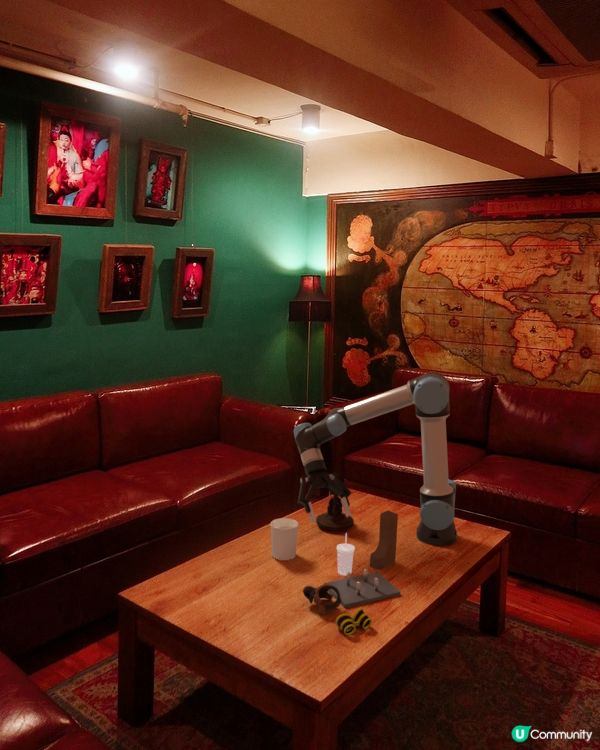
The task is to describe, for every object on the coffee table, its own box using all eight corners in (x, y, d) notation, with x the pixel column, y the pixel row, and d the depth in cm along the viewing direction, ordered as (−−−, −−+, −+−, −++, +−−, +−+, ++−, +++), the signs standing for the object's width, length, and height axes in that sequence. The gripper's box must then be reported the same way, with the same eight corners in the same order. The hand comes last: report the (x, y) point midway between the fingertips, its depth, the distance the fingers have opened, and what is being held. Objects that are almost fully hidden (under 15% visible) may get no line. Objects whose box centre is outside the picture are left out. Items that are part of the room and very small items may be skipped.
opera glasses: (344, 640, 183) (347, 625, 181) (333, 627, 187) (336, 613, 185) (371, 630, 188) (374, 616, 186) (360, 618, 192) (363, 604, 190)
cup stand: (376, 575, 218) (377, 560, 218) (400, 595, 206) (401, 579, 205) (323, 586, 210) (324, 571, 209) (344, 608, 198) (345, 592, 197)
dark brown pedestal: (317, 517, 265) (319, 470, 262) (353, 519, 264) (356, 472, 260) (314, 532, 251) (316, 482, 247) (353, 535, 249) (355, 485, 246)
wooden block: (379, 570, 222) (382, 520, 218) (369, 566, 225) (371, 516, 221) (395, 562, 228) (398, 513, 225) (385, 558, 231) (388, 509, 228)
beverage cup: (334, 567, 223) (336, 529, 220) (352, 567, 223) (354, 529, 221) (336, 576, 217) (338, 537, 214) (354, 576, 217) (356, 537, 215)
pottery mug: (340, 601, 203) (346, 586, 197) (332, 627, 196) (338, 613, 190) (304, 587, 204) (308, 572, 199) (295, 613, 197) (299, 598, 192)
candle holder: (265, 558, 228) (265, 526, 226) (276, 547, 237) (277, 516, 235) (291, 564, 225) (291, 531, 222) (301, 552, 234) (302, 520, 231)
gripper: (340, 464, 245) (358, 517, 234) (279, 472, 234) (295, 528, 224) (347, 455, 239) (367, 508, 228) (285, 462, 228) (302, 519, 218)
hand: (331, 518), depth 226 cm, fingers open, 13 cm apart
